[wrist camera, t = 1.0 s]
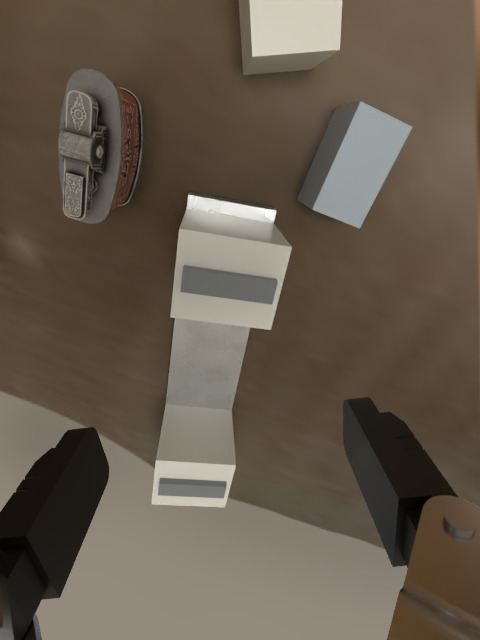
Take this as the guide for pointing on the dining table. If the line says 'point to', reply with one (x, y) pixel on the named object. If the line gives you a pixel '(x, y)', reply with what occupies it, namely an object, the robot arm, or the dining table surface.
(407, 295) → the dining table surface
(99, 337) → the dining table surface
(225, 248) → the mounted modules
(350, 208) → the block
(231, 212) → the rail
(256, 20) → the block
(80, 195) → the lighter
